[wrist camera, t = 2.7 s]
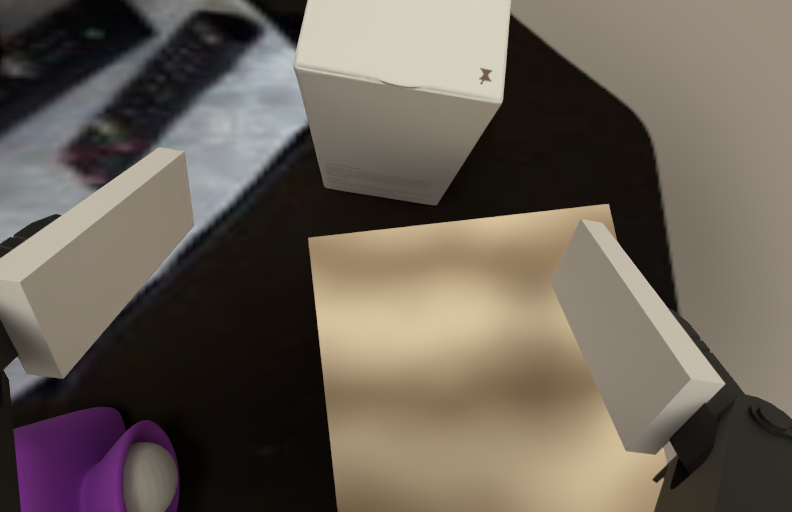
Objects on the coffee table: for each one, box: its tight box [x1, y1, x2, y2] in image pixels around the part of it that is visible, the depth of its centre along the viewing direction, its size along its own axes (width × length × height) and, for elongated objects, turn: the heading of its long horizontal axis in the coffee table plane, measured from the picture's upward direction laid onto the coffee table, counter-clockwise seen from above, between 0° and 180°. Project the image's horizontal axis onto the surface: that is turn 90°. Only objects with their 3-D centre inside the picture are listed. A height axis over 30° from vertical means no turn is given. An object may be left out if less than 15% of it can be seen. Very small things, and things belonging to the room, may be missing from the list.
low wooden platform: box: [308, 204, 667, 512], centre depth 25 cm, size 16×16×10 cm
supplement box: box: [293, 0, 511, 205], centre depth 25 cm, size 9×9×15 cm
